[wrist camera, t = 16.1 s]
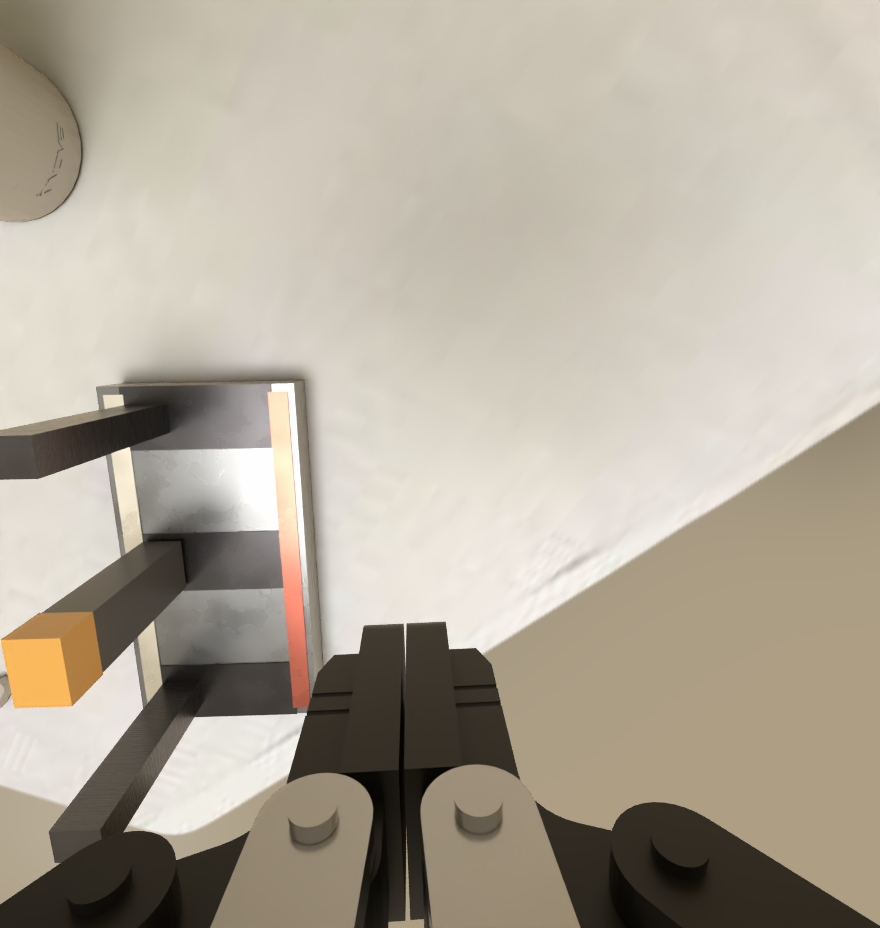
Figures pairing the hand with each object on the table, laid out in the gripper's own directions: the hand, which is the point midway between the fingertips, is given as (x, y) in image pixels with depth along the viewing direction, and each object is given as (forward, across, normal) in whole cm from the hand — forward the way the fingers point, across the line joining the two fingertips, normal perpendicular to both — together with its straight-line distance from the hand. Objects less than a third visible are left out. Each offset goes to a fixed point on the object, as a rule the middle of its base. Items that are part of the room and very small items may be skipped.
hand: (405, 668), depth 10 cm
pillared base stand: (+28, +13, +8) cm, 32 cm away
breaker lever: (+25, +16, +8) cm, 31 cm away
